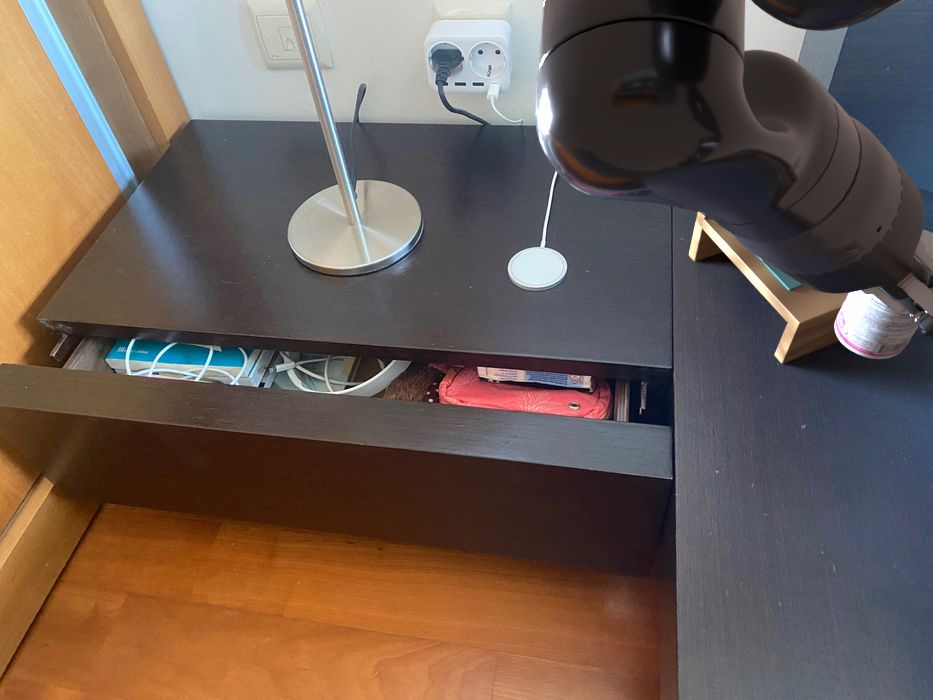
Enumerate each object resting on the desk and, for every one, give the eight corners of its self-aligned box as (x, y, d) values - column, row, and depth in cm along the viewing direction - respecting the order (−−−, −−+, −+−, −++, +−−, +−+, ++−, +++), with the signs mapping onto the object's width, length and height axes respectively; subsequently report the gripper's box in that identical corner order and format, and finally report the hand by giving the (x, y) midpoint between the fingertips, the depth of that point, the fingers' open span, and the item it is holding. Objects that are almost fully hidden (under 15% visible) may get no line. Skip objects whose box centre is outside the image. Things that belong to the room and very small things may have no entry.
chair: (871, 328, 69) (933, 218, 58) (781, 364, 67) (827, 258, 56) (768, 226, 78) (805, 114, 67) (688, 255, 77) (711, 146, 66)
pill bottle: (841, 300, 53) (884, 213, 46) (911, 322, 51) (966, 235, 45) (825, 346, 51) (868, 261, 44) (898, 370, 49) (954, 286, 42)
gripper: (998, 234, 31) (1060, 321, 42) (786, 71, 39) (885, 180, 51) (852, 352, 34) (946, 403, 46) (685, 178, 42) (800, 258, 54)
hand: (913, 285), depth 48 cm, fingers closed on pill bottle, 4 cm apart
